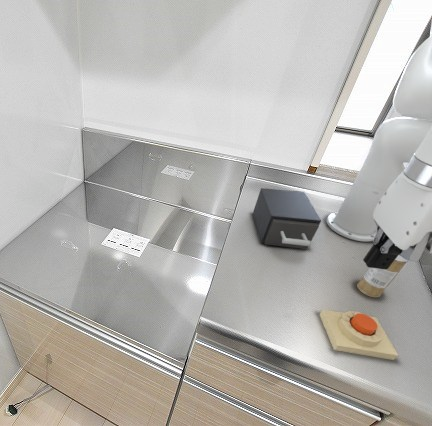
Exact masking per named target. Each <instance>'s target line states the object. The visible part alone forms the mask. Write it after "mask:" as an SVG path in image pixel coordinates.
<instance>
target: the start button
mask: <svg viewBox="0 0 432 426" xmlns="http://www.w3.org/2000/svg"><path fill="white" fill-rule="evenodd" d="M371 317H372V316H369V315H367V314H365V313H362V314H356V315H355V316H354V317H353V318H352V320H351V322H350V323H351V326H352V327H353V328H354V329H355V330H356V331H357V332H359V333H361V334H363V335H372V334H373V333H374V332H375V330H376V329H377V327H378V326H377V323H376V322H375V321H374V320H373V319H372V318H371Z"/></svg>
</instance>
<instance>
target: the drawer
mask: <svg viewBox="0 0 432 426" xmlns="http://www.w3.org/2000/svg"><path fill="white" fill-rule="evenodd" d="M319 227H320V224H319V225H318V224H317V223H311V222H304V221H294V220H284V219H273V220H272V223H271V225H270V228H269V230H268V233H267V235H266V238H265V241H264V242H265V244H264V245H269V246H276V247H285V248H294V249H295V248H296V249H303V250H308V248H309V247H311V244H312V241H313V239H314V237H315V235H316V233H317V231H318V230H319Z"/></svg>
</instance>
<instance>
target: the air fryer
mask: <svg viewBox="0 0 432 426" xmlns="http://www.w3.org/2000/svg"><path fill="white" fill-rule="evenodd" d="M307 195H308V194H306V192H305V191H301V190H300V191H298V190H288V189H275V188H264V187H263V188H262V187H261V188H260V190H259V193H258V196H257V200H256V202H255V205H254V208H253V212H252V218H253V221H254V224H255V228H256V231H257V235H258V239H259V242H260V244H262V245H266V244H265V242H264V241H265V238H266V235H267V233H268V230H269V228H270V225H271V223H272V220H273V219H284V220H294V221H304V222H311V223H317V224H318V225H319V226H320V224H321V222H322V219H321V217H320V215H319V214H318V212H317V211H316V208H315V207H314V205H313V204H312V202H311V200H310V199H309V197H308V196H307Z"/></svg>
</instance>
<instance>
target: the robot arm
mask: <svg viewBox="0 0 432 426" xmlns="http://www.w3.org/2000/svg"><path fill="white" fill-rule="evenodd" d="M392 107H393V110H394V111H395V113H396V114H398V115H399V116H402V117H394V118H390V119H386V120H385V121H383V122H382V123H381V124H380V125H379V126H378V128H377V129H376V131H375V134H374V136H373V139H372V141H371V146H370V148H369V151H368V153H367V156H366V158H365V160H364V162H363V164H362V166H361V168H360V170H359V172H358V174H357V176H356V177H355V179H354V181H353V183H352V185H351V186H350V188H349V189H348V192H347V193H346V195H345V197H344V199H343V201H342V202H341V205H340V207H339V209H338V210H337V211H334V212H331V213H330V214H328V216H327V217H326V224H327V226H328V227H329V228H330V229H331V230H332V231H333V232H335V233H336V234H337V235H340V236H342V237H344V238H346V239H349V240H353V241H356V242H364V243H365V242H373V243H374V244H372V246H371V247H370V249H369V250H368V252H367V253H366V255H365V256H364V257H363V259H362V261H363V263H365V265H366V267H367V268H377V269H388V268H389V267H390V265H391V264H392V263H393V261H394V260H395V259H396V258H397V256H398V255H400V256H401V257H403V258H404V259H405V260H408V262H419V261H420V259H421V257H422V255H423V253H424V251H425V252H426V253H428V254H432V20H431V23H430V33H429V36H428V38H426V39H425V40H424V41H423V42H422V43H421V44H420V45H419V46H418V47H417V48H416V49H415V51H414V52H413V53H412V55H411V56H410V58H409V59H408V62H407V63H406V66H405V67H404V70H403V73H402V75H401V77H400V80H399V82H398V85H397V87H396V90H395V92H394V95H393V99H392ZM405 163H407V165H406V166H405V165H404V164H405ZM395 245H396V246H395Z"/></svg>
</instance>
